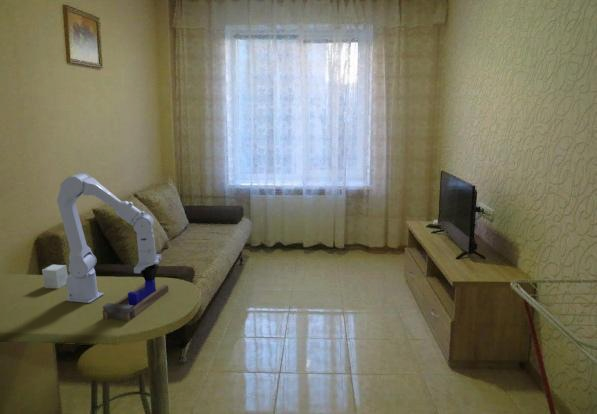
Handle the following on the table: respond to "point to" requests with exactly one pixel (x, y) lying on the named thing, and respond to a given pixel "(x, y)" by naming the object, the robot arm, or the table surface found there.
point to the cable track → (129, 311)
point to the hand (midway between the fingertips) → (150, 285)
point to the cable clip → (142, 293)
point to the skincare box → (55, 276)
